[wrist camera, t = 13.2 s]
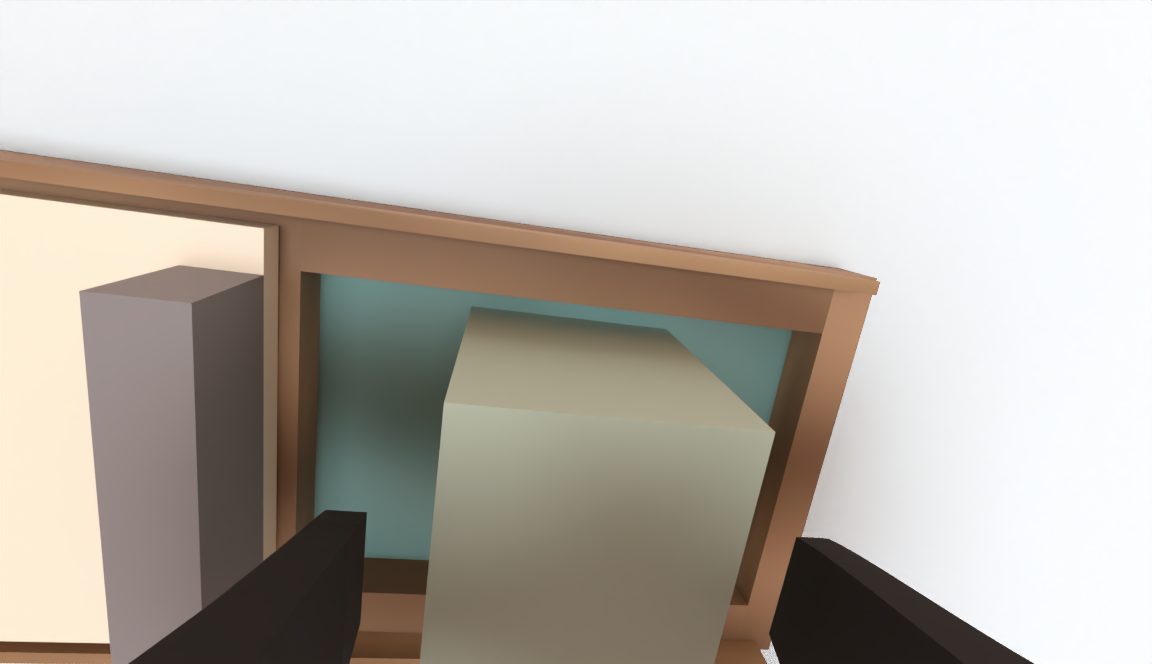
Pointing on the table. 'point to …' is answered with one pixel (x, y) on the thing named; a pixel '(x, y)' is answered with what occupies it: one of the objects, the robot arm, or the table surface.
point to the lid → (131, 417)
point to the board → (430, 348)
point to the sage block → (586, 497)
